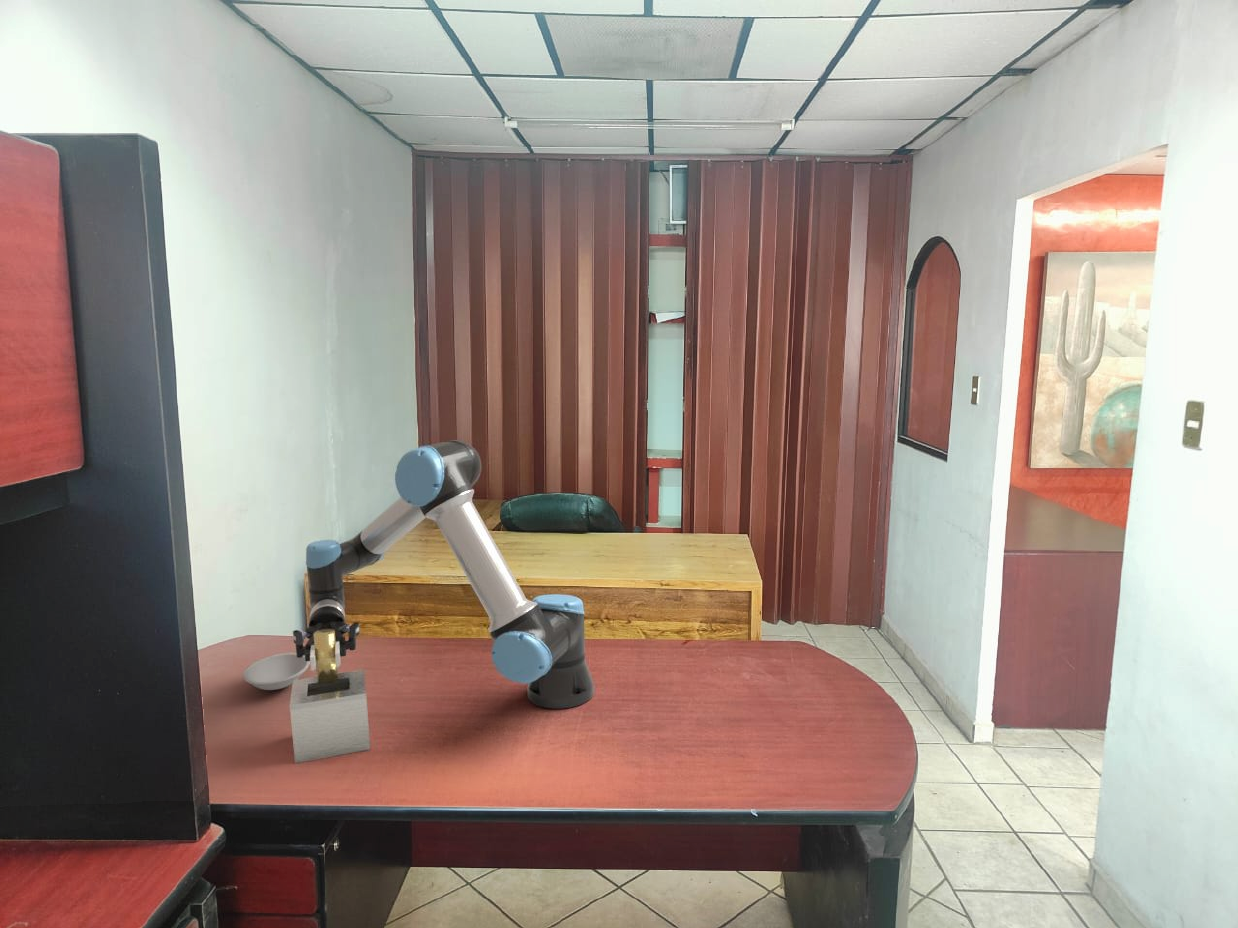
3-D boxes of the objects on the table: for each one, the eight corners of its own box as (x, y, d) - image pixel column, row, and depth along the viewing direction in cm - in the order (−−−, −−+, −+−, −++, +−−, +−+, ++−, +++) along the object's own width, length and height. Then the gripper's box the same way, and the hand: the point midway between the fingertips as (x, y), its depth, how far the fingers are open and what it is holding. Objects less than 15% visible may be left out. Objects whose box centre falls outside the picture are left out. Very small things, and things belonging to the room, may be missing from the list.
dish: (257, 674, 193) (255, 655, 193) (317, 669, 196) (316, 650, 195) (235, 707, 176) (233, 686, 175) (302, 700, 179) (300, 680, 178)
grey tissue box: (368, 722, 168) (364, 669, 166) (370, 749, 157) (366, 693, 155) (298, 734, 163) (293, 680, 161) (295, 763, 152) (289, 705, 150)
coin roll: (342, 675, 160) (338, 629, 158) (333, 684, 156) (329, 636, 154) (323, 675, 160) (319, 628, 158) (313, 683, 156) (309, 636, 154)
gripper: (368, 632, 177) (372, 673, 155) (287, 643, 171) (279, 687, 150) (365, 600, 176) (369, 637, 154) (284, 610, 170) (276, 650, 148)
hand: (325, 661), depth 152 cm, fingers closed on coin roll, 4 cm apart
